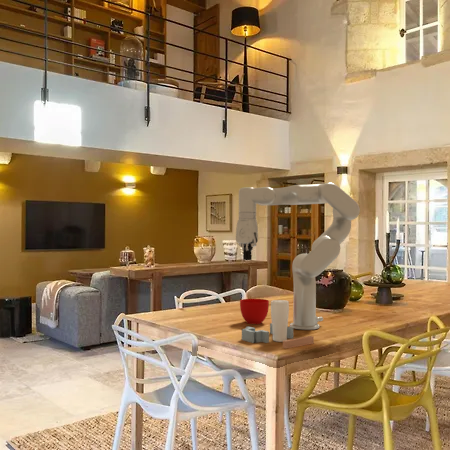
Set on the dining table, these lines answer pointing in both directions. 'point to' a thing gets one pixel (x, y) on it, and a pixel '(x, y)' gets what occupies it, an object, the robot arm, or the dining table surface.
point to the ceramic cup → (254, 310)
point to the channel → (263, 336)
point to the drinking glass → (279, 319)
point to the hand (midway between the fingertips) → (247, 259)
